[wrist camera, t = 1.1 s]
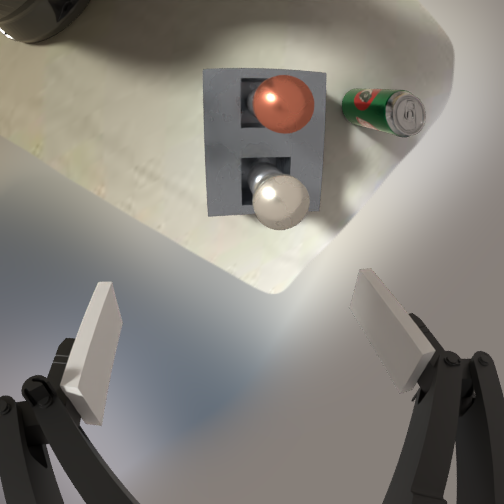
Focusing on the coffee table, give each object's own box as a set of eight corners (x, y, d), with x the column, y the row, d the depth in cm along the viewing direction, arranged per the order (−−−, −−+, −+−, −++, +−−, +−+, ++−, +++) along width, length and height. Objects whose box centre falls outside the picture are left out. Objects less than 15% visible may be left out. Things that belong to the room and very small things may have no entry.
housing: (203, 75, 31) (202, 69, 24) (302, 77, 33) (326, 73, 26) (207, 193, 38) (208, 216, 32) (298, 189, 40) (319, 211, 33)
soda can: (339, 123, 36) (388, 136, 26) (340, 86, 34) (391, 86, 23) (372, 126, 37) (426, 141, 27) (373, 91, 35) (429, 95, 24)
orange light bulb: (241, 80, 26) (254, 73, 19) (287, 81, 27) (315, 77, 20) (241, 125, 28) (254, 133, 22) (287, 125, 29) (313, 134, 22)
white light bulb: (242, 157, 30) (254, 177, 23) (286, 157, 31) (311, 176, 24) (242, 200, 32) (253, 231, 25) (284, 198, 33) (307, 228, 26)
